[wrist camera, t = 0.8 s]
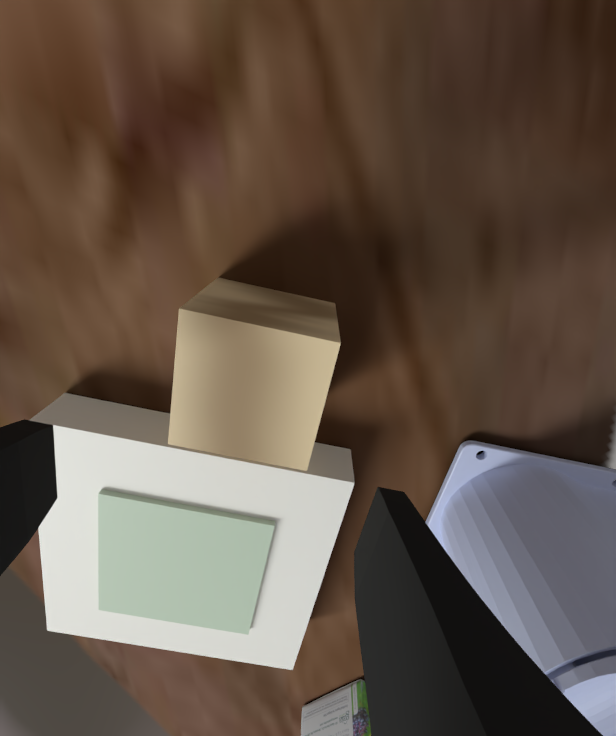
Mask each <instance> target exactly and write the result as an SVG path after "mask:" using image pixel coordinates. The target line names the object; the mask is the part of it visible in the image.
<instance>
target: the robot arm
mask: <svg viewBox="0 0 616 736" xmlns="http://www.w3.org/2000/svg"><path fill="white" fill-rule="evenodd" d="M479 451H484V452H483V453H482V454H480V455H476V454H477V453H478V452H479ZM615 479H616V469H611V468H606V467H601V466H596V465H591V464H586V463H581V462H576V461H571V460H566V459H562V458H557V457H552V456H547V455H542V454H537V453H532V452H527V451H522V450H517V449H512V448H507V447H502V446H497V445H493V444H488V443H483V442H478V441H472V440H469V441H465V442H463V443H462V444H461V445H460V447H459V449H458V451H457V453H456V455H455V457H454V460H453V462H452V464H451V466H450V469H449V471H448V473H447V475H446V478H445V480H444V482H443V484H442V486H441V489H440V491H439V493H438V495H437V498H436V500H435V502H434V504H433V507H432V509H431V511H430V513H429V515H428V518H427V520H426V522H425V521H424V520H423V518H422V517H421V515H420V514H419V512H418V511H417V510H416V508H415V507H414V505H413V504H412V502H411V501H410V500H409V498H408V497H407V495H406V494H405V493H404V492H401V491H396V490H391V489H386V488H380V487H378V488H377V491H376V493H375V496H374V499H373V502H372V504H371V507H370V510H369V513H368V515H367V518H366V521H365V524H364V526H363V529H362V532H361V535H360V538H359V540H358V543H357V546H356V549H355V551H354V579H355V604H356V613H357V621H358V630H359V638H360V646H361V654H362V662H363V670H364V678H365V686H366V694H367V702H368V710H369V718H370V728H371V736H616V480H615ZM614 480H615V481H614ZM56 500H57V481H56V465H55V448H54V431H53V425H51V424H45V423H40V422H35V421H30V420H21V421H18V422H15V423H12V424H9V425H6V426H3V427H0V576H1V574H2V573H3V572H4V571H5V570H6V568H7V567H8V566H9V565H10V564H11V562H12V561H13V560H14V559H15V558H16V556H17V555H18V554H19V553H20V552H21V550H22V549H23V548H24V547H25V546H26V544H27V543H28V542H29V540H30V539H31V538H32V536H33V535H34V533H35V532H36V530H37V529H38V527H39V526H40V524H41V523H42V521H43V520H44V518H45V517H46V515H47V514H48V512H49V511H50V509H51V507H52V506H53V504H54V503H55V501H56Z"/></svg>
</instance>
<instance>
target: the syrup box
mask: <svg viewBox="0 0 616 736" xmlns="http://www.w3.org/2000/svg"><path fill="white" fill-rule="evenodd" d="M301 736H371V728H370V718H369V710H368V702H367V694H366V686H365V681H364V680H362V679H359V680H357V681H355V682H352V683H350V684H348V685H346V686H344V687H342V688H340V689H337V690H335V691H333V692H331V693H329V694H327V695H325V696H323V697H321V698H319V699H317V700H315V701H313V702H311V703H309V704H307V705H305V706H303V707H302V721H301Z"/></svg>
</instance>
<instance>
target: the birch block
mask: <svg viewBox="0 0 616 736" xmlns="http://www.w3.org/2000/svg"><path fill="white" fill-rule="evenodd" d="M340 345H341V340H340V333H339V326H338V319H337V312H336V305H335V303H332V302H327V301H323V300H318V299H314V298H309V297H305V296H300V295H296V294H291V293H286V292H282V291H277V290H273V289H268V288H264V287H259V286H255V285H250V284H245V283H241V282H236V281H232V280H227V279H223V278H217V279H216V280H214V281H213V282H212V283H211V284H209V285H208V286H207V287H206V288H204V289H203V290H202V291H201V292H199V293H198V294H197V295H196V296H194V297H193V298H192V299H190V300H189V301H188V302H187V303H185V304H184V305H183V306H182V307H180V308H179V316H178V328H177V340H176V352H175V364H174V376H173V388H172V400H171V412H170V424H169V436H168V444H170V445H175V446H180V447H185V448H190V449H196V450H201V451H206V452H211V453H216V454H221V455H227V456H232V457H237V458H242V459H247V460H253V461H258V462H263V463H268V464H273V465H278V466H284V467H289V468H294V469H299V470H304V471H307V469H308V465H309V461H310V457H311V454H312V450H313V446H314V442H315V439H316V435H317V431H318V427H319V424H320V420H321V416H322V412H323V408H324V405H325V401H326V397H327V393H328V390H329V386H330V382H331V378H332V375H333V371H334V367H335V363H336V360H337V356H338V352H339V348H340Z"/></svg>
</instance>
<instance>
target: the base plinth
mask: <svg viewBox="0 0 616 736" xmlns="http://www.w3.org/2000/svg"><path fill="white" fill-rule="evenodd" d="M30 421H35V422H40V423H45V424H51V425H53V431H54V448H55V465H56V481H57V500H56V501H55V503H54V504H53V506H52V507H51V509H50V511H49V512H48V514H47V515H46V517H45V518H44V520H43V521H42V523H41V524H40V526H39V527H38V528H39V540H40V552H41V563H42V575H43V586H44V598H45V609H46V620H47V630H48V631H54V632H59V633H66V634H72V635H78V636H84V637H90V638H97V639H103V640H109V641H115V642H121V643H128V644H134V645H140V646H146V647H152V648H159V649H165V650H171V651H177V652H184V653H190V654H196V655H202V656H208V657H215V658H221V659H227V660H233V661H239V662H246V663H252V664H258V665H264V666H270V667H277V668H283V669H289V670H293V667H294V664H295V661H296V658H297V655H298V652H299V649H300V646H301V643H302V640H303V637H304V634H305V631H306V628H307V625H308V622H309V619H310V616H311V613H312V610H313V607H314V604H315V601H316V598H317V595H318V592H319V589H320V586H321V583H322V580H323V577H324V574H325V571H326V568H327V565H328V562H329V559H330V556H331V553H332V550H333V547H334V544H335V541H336V538H337V535H338V532H339V529H340V526H341V523H342V520H343V517H344V514H345V511H346V508H347V505H348V502H349V499H350V496H351V493H352V490H353V487H354V484H355V481H354V473H353V465H352V457H351V449H347V448H342V447H337V446H331V445H326V444H321V443H316V442H314V446H313V450H312V454H311V457H310V461H309V465H308V469H307V471H304V470H299V469H294V468H289V467H284V466H278V465H273V464H268V463H263V462H258V461H253V460H247V459H242V458H237V457H232V456H227V455H221V454H216V453H211V452H206V451H201V450H196V449H190V448H185V447H180V446H175V445H170V444H168V436H169V424H170V414H169V413H164V412H159V411H154V410H149V409H144V408H139V407H134V406H129V405H124V404H119V403H114V402H109V401H104V400H99V399H93V398H88V397H83V396H78V395H73V394H68V393H64V394H63V395H62V396H60V397H59V398H58V399H56V400H55V401H54V402H52V403H51V404H50V405H49V406H47V407H46V408H45V409H43V410H42V411H41V412H39V413H38V414H37V415H36V416H34V417H33V418H32V419H30Z"/></svg>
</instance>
